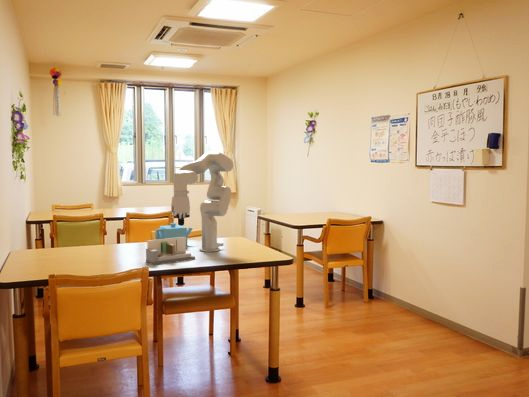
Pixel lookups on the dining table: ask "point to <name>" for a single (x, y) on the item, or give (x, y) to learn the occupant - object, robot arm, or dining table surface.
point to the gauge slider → (168, 250)
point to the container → (172, 232)
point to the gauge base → (155, 249)
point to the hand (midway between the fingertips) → (181, 225)
